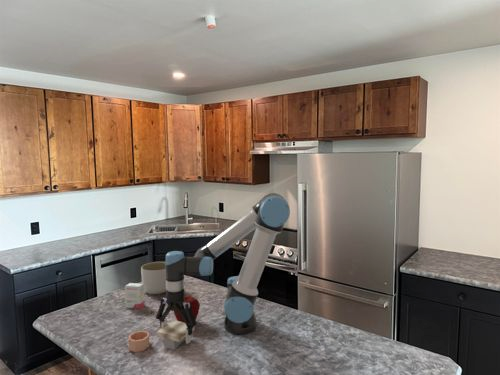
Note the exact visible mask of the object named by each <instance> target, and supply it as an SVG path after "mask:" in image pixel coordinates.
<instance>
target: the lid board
mask: <svg viewBox="0 0 500 375" xmlns="http://www.w3.org/2000/svg"><path fill="white" fill-rule="evenodd" d="M186 327H187V326H186V324H185V323H184V322H180V321H177V320H175V319H173V320H172V321H171V322H169V323H167V325H166V326H164V327H163V328H160V329H158V330H157V331H156V332H157V333H156V337H159V338H161V339H164V338H166V339H170V340H173V341H177V342H180V341H181V340H182V339H183V338H185V337H186ZM193 331H195V326H194V327H193V328H192V332H193Z"/></svg>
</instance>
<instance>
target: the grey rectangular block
mask: <svg viewBox="0 0 500 375" xmlns="http://www.w3.org/2000/svg"><path fill="white" fill-rule="evenodd" d="M185 341H186V337H185V338H183V339H182V340H181V341H180V342H177V341H173V340H170V339H166V338H163V347H166V348H168V349H172V350H175V349H176V348H177V347H179V346H180V345H181V344H182V343H183V342H185Z"/></svg>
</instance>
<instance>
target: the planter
mask: <svg viewBox="0 0 500 375" xmlns="http://www.w3.org/2000/svg"><path fill="white" fill-rule="evenodd" d="M165 262H166V261H154V262H153V261H152V262H148V263H145V264H143V265H142V266H141V267H140V273H141V274H140V275H141V284H144V292H146V293H147V294H149V295H160V294H163V293H166V290H167V289H166V268H165Z"/></svg>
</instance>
